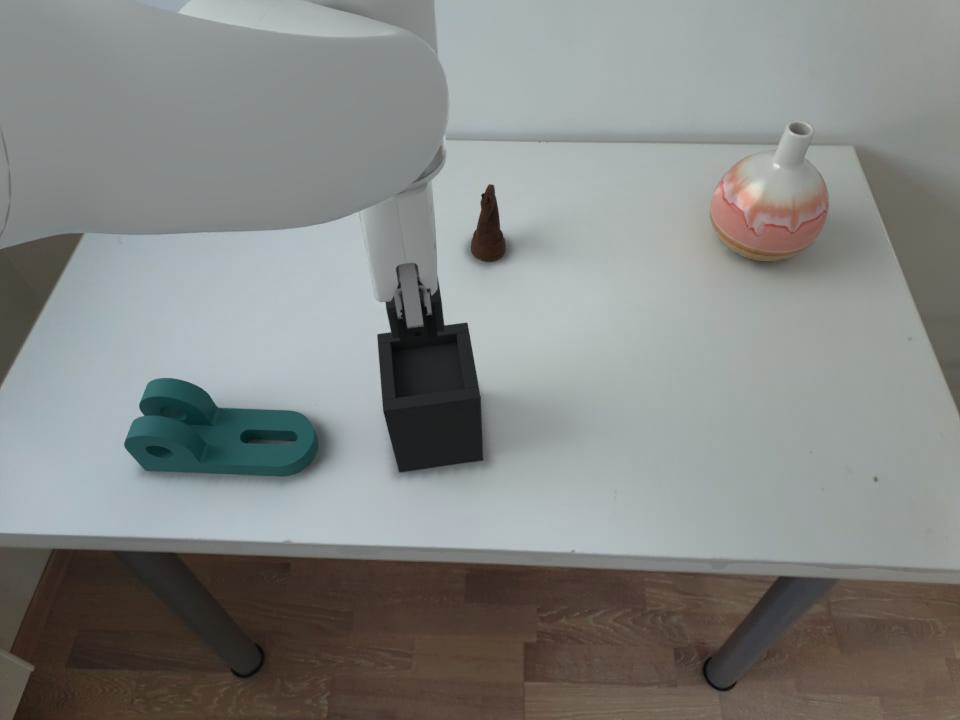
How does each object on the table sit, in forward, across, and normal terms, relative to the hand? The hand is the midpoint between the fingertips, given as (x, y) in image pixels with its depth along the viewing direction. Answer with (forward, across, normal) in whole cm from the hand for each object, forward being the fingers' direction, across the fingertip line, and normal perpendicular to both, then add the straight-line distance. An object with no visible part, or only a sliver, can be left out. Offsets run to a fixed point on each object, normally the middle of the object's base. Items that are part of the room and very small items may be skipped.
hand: (415, 312), depth 61 cm
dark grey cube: (0, 0, 0) cm, 0 cm away
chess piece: (+20, -26, +10) cm, 35 cm away
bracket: (+20, -1, -22) cm, 30 cm away
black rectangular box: (+20, 0, 0) cm, 20 cm away
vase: (+20, -21, +45) cm, 53 cm away
